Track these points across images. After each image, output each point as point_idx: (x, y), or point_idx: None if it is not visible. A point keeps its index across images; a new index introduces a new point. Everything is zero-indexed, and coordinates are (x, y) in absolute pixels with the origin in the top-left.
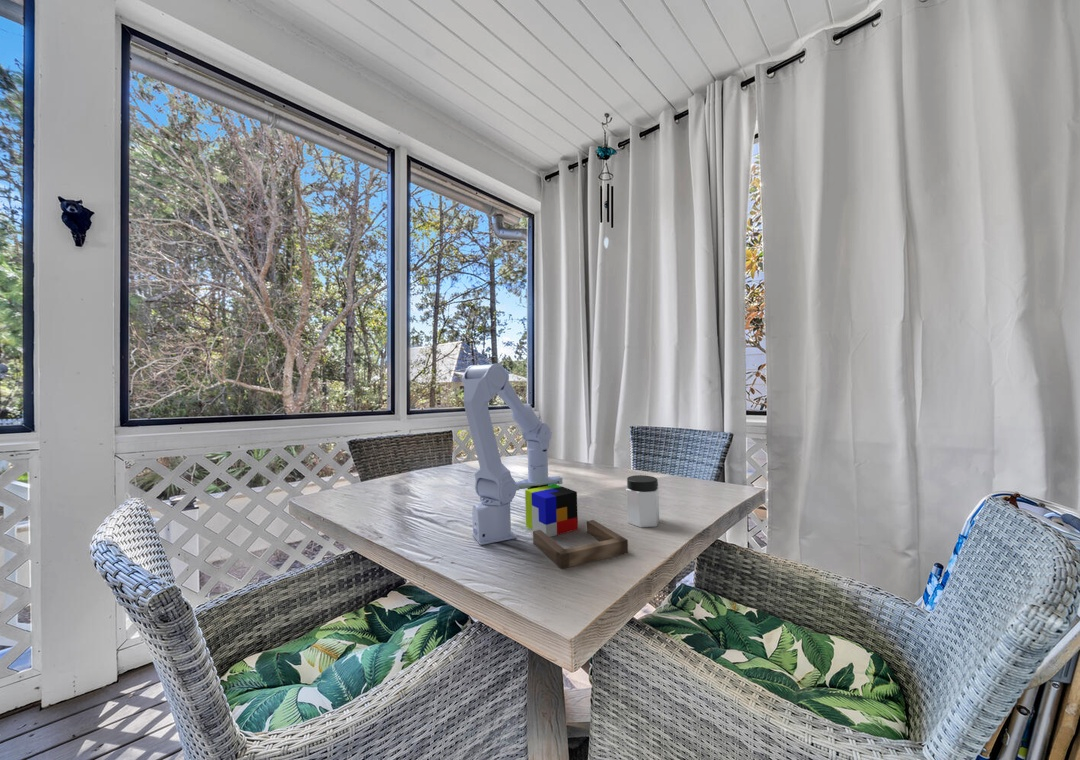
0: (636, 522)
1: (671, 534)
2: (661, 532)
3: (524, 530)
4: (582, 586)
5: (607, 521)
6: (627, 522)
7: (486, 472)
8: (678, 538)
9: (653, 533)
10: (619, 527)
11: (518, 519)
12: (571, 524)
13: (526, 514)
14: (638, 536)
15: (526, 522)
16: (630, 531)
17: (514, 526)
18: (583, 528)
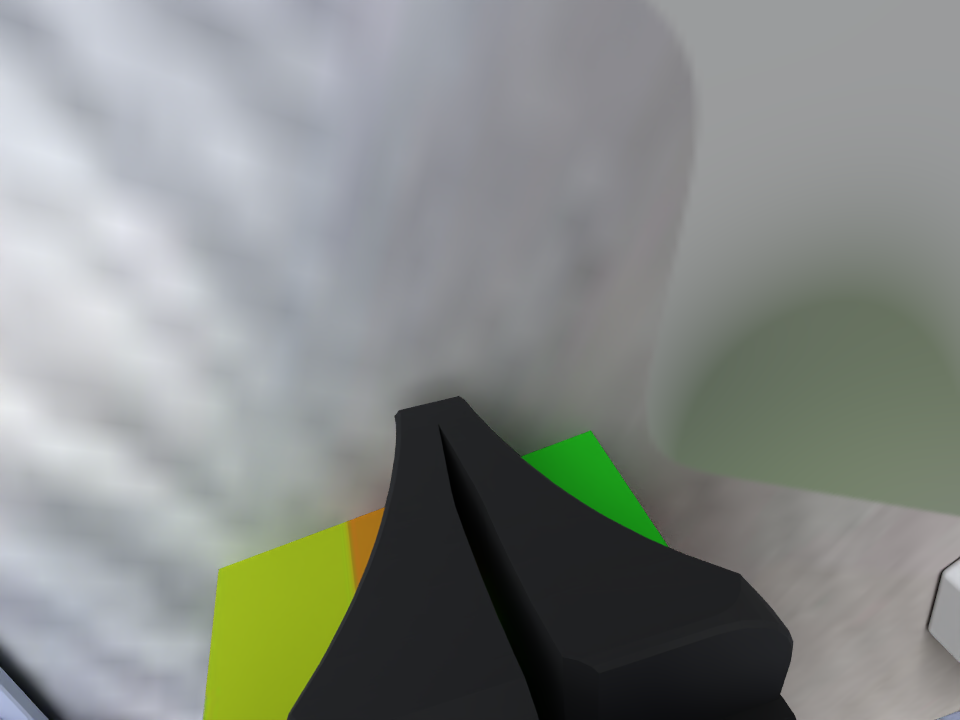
0: (949, 636)
1: (947, 687)
2: (940, 671)
3: (191, 647)
4: None
5: (881, 534)
6: (943, 575)
7: None
8: (926, 716)
9: (905, 680)
10: (852, 619)
11: (121, 361)
12: None
13: (212, 706)
14: (826, 707)
15: (219, 613)
16: (849, 663)
17: (68, 562)
18: None
